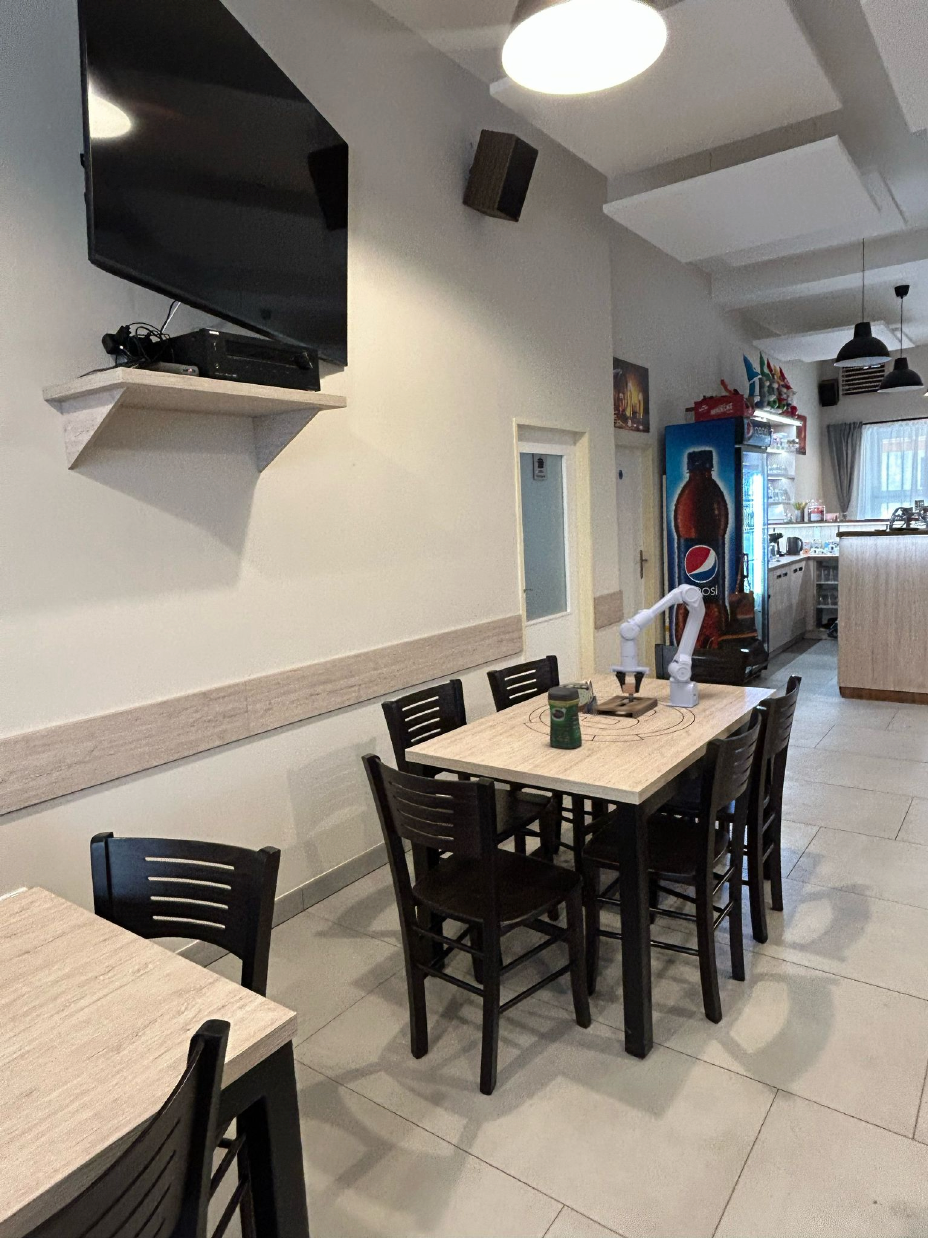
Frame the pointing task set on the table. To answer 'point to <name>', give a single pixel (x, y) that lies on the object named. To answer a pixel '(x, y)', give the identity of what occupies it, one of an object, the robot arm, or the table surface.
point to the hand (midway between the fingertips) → (630, 692)
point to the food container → (580, 693)
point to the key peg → (629, 691)
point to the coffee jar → (564, 717)
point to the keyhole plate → (635, 708)
